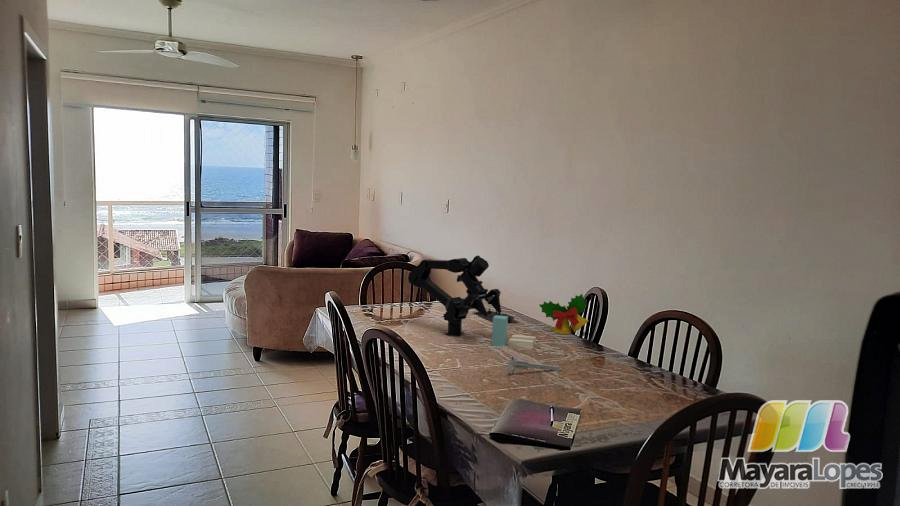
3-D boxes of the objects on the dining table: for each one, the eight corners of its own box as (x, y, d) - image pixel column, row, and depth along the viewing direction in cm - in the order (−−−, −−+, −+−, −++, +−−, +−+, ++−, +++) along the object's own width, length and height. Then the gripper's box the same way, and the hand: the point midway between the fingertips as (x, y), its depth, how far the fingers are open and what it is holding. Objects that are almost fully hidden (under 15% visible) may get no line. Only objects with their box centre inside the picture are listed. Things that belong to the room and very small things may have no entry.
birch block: (513, 343, 253) (513, 334, 253) (535, 345, 250) (535, 336, 250) (508, 348, 244) (509, 339, 244) (531, 351, 242) (532, 342, 241)
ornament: (545, 342, 274) (532, 310, 270) (549, 332, 281) (537, 301, 278) (592, 333, 264) (580, 300, 260) (596, 324, 271) (584, 291, 267)
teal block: (494, 342, 252) (495, 315, 251) (506, 343, 251) (507, 316, 249) (491, 345, 247) (492, 317, 246) (504, 346, 246) (505, 318, 245)
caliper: (508, 375, 210) (509, 357, 209) (507, 374, 211) (508, 356, 210) (562, 370, 217) (563, 352, 217) (561, 369, 218) (562, 351, 218)
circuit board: (472, 314, 306) (472, 307, 305) (497, 312, 312) (498, 306, 311) (497, 325, 283) (497, 318, 283) (524, 323, 289) (524, 316, 289)
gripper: (474, 293, 266) (495, 322, 261) (446, 298, 252) (467, 330, 246) (490, 276, 261) (511, 306, 255) (462, 281, 246) (484, 313, 241)
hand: (493, 314), depth 249 cm, fingers open, 9 cm apart
